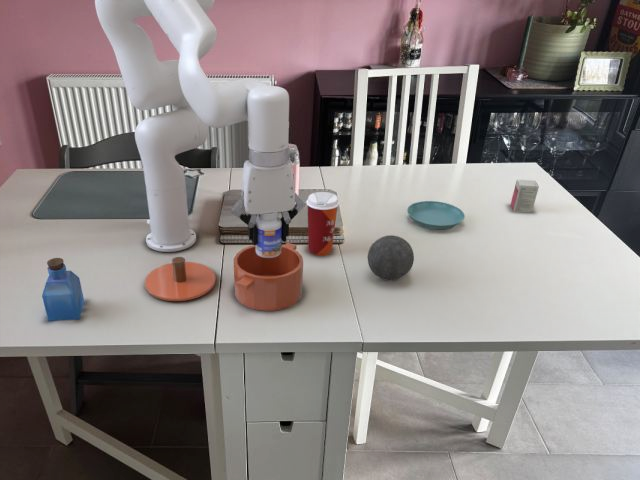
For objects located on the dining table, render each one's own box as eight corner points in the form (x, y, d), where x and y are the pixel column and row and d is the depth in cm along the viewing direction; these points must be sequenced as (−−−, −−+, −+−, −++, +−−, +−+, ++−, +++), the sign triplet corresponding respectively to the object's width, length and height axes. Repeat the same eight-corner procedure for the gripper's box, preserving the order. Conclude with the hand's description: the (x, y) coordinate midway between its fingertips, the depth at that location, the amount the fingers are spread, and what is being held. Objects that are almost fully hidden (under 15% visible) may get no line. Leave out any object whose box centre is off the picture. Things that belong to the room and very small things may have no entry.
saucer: (401, 228, 149) (402, 219, 147) (410, 206, 160) (412, 197, 159) (460, 238, 144) (462, 228, 142) (465, 214, 155) (467, 205, 154)
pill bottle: (264, 261, 115) (264, 218, 110) (250, 250, 119) (249, 208, 114) (286, 254, 118) (287, 211, 113) (272, 243, 122) (272, 202, 116)
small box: (528, 206, 159) (535, 180, 155) (532, 213, 156) (539, 186, 151) (509, 205, 160) (516, 179, 156) (512, 211, 156) (519, 185, 152)
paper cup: (334, 259, 135) (338, 205, 128) (302, 256, 137) (304, 202, 129) (337, 244, 142) (340, 191, 134) (306, 241, 143) (308, 189, 136)
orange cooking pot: (214, 303, 120) (212, 271, 116) (264, 263, 134) (264, 232, 130) (272, 325, 114) (272, 292, 109) (319, 280, 128) (321, 249, 123)
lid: (130, 289, 125) (127, 265, 122) (176, 259, 136) (174, 236, 133) (185, 311, 118) (183, 286, 115) (229, 278, 129) (228, 254, 126)
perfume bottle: (54, 303, 121) (42, 254, 114) (84, 302, 121) (74, 253, 115) (48, 321, 116) (35, 270, 109) (79, 319, 116) (68, 268, 110)
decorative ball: (402, 293, 123) (409, 253, 117) (359, 281, 127) (363, 242, 122) (416, 272, 130) (422, 233, 125) (374, 262, 134) (378, 224, 129)
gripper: (306, 145, 112) (303, 228, 122) (220, 152, 109) (224, 236, 119) (317, 158, 106) (313, 244, 115) (226, 166, 103) (230, 253, 113)
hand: (268, 239), depth 117 cm, fingers closed on pill bottle, 5 cm apart
